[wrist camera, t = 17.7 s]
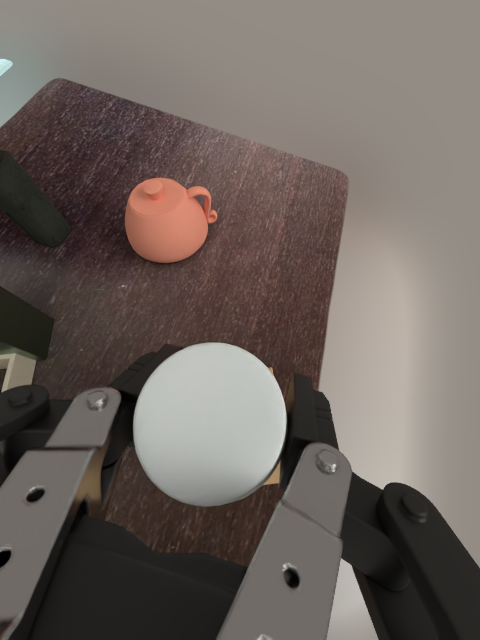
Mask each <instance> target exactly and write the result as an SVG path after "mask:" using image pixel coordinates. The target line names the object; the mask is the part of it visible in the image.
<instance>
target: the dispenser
mask: <svg viewBox="0 0 480 640" xmlns="http://www.w3.org/2000/svg"><path fill="white" fill-rule="evenodd" d="M53 322H54V319H53V318H51V317H49V316H48V315H46V314H44V313H43V312H41V311H40V310H38V309H36V308H35V307H33V306H32V305H30V304H28V303H27V302H25V301H23V300H22V299H20V298H19V297H17V296H15V295H14V294H12V293H10V292H9V291H7V290H6V289H4V288H2V287H1V286H0V355H5V354H14V353H16V354H19V355H22V356H24V357H27V358H30V359H32V360H35V361H38V360H46V358H47V353H48V347H49V342H50V337H51V332H52V327H53Z"/></svg>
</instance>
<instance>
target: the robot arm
mask: <svg viewBox="0 0 480 640" xmlns="http://www.w3.org/2000/svg"><path fill="white" fill-rule="evenodd" d="M182 349H184V348H183V347H180V346H175V345H171V344H165V345H164V346H163V347H162V348H161V349H160V350H159V351H158V352H157V353H156V352H150V353H148V354H145V355H143V356H141V357H140V358H139V359H138V360H137V361H136V362H134V364H132V365H131V366H130V367H129V368H128V369H127V370H125V371H124V372H123V373H122V374H121V375H120V376H119V377H118V378H116V379H115V380H114V381H113V382H112V383H111V384H110V385H108V386H107V387H96V388H92V389H88V390H86V391H84V392H82V393H80V394H79V395H78V396H77V397H76V398H75V399H74V400H49V393H48V390H47V389H46V388H45V387H43V386H40V385H22V386H17V387H14V388H11V389H8V390H6V391H3V392H1V393H0V448H1V452H2V453H1V454H0V640H326V638H327V633H328V627H329V622H330V616H331V610H332V605H333V599H334V594H335V588H336V582H337V576H338V571H339V565H340V560H341V558H342V559H343V560H345V561H346V562H348V563H349V564H351V565H352V567H353V571H354V573H355V576H356V579H357V581H358V584H359V587H360V590H361V593H362V595H363V598H364V601H365V604H366V606H367V609H368V612H369V615H370V617H371V620H372V623H373V625H374V628H375V631H376V634H377V636H378V639H379V640H480V568H479V567H478V565H477V564H476V563H475V561H474V560H473V558H472V557H471V556H470V554H469V553H468V551H467V550H466V549H465V547H464V546H463V544H462V543H461V542H460V540H459V539H458V538H457V536H456V535H455V533H454V532H453V531H452V529H451V528H450V526H449V525H448V524H447V522H446V521H445V520H444V518H443V517H442V516H441V514H440V513H439V511H438V510H437V509H436V507H435V506H434V505H433V504H432V503H431V502H430V500H428V499H427V498H426V497H425V496H424V495H422V494H421V493H420V492H419V491H417V490H415V489H414V488H412V487H410V486H408V485H405V484H402V483H389V484H387V485H386V486H385V487H384V489H383V490H382V489H380V488H378V487H376V486H375V485H373V484H371V483H369V482H367V481H365V480H364V479H362V478H360V477H359V476H357V475H356V474H355V473H354V472H352V469H351V466H350V463H349V461H348V460H347V458H346V457H345V456H344V455H343V454H342V453H341V452H340V451H339V448H338V443H337V438H336V434H335V429H334V424H333V421H332V414H331V409H330V404H329V401H328V400H327V398H326V397H325V395H324V394H323V393H322V392H319V391H315V390H313V386H312V378H311V377H308V376H303V375H299V374H295V373H294V374H293V376H292V379H291V383H290V386H289V390H288V394H287V397H286V401H285V408H286V413H287V420H288V432H287V441H286V446H285V449H284V452H283V455H282V457H281V460H280V475H279V490H282V491H285V494H284V496H283V498H282V500H281V499H280V501H279V502H278V504H277V506H276V508H275V511H274V513H273V515H272V517H271V519H270V522H269V524H268V526H267V528H266V530H265V533H264V535H263V537H262V539H261V541H260V544H259V546H258V548H257V550H256V552H255V555H254V557H253V559H252V561H251V563H250V566H249V568H248V570H247V572H246V569H247V567H245V566H241V565H238V564H235V563H232V562H229V561H226V560H223V559H220V558H217V557H214V556H211V555H208V554H205V553H157V552H155V551H153V550H152V549H150V548H149V547H148V546H147V545H145V544H144V543H143V542H141V541H140V540H139V539H137V538H136V537H135V536H134V535H132V534H131V533H130V532H128V531H127V530H126V529H124V528H123V527H122V526H119V525H115V524H112V523H109V522H106V521H105V517H106V513H107V509H108V506H109V502H110V499H111V496H112V492H113V489H114V486H115V482H116V479H117V475H118V472H119V469H120V465H121V462H122V453H123V452H124V450H125V449H126V448H127V446H130V447H134V448H135V445H134V437H133V419H134V412H135V407H136V404H137V400H138V397H139V395H140V393H141V391H142V389H143V387H144V385H145V383H146V381H147V380H148V378H149V377H150V375H151V374H152V373H153V372H154V370H155V369H156V368H157V367H158V366H159V365H160V364H161V363H162V362H163V361H165V360H166V359H167V358H169V357H170V356H171V355H173V354H175V353H176V352H178V351H180V350H182Z"/></svg>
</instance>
